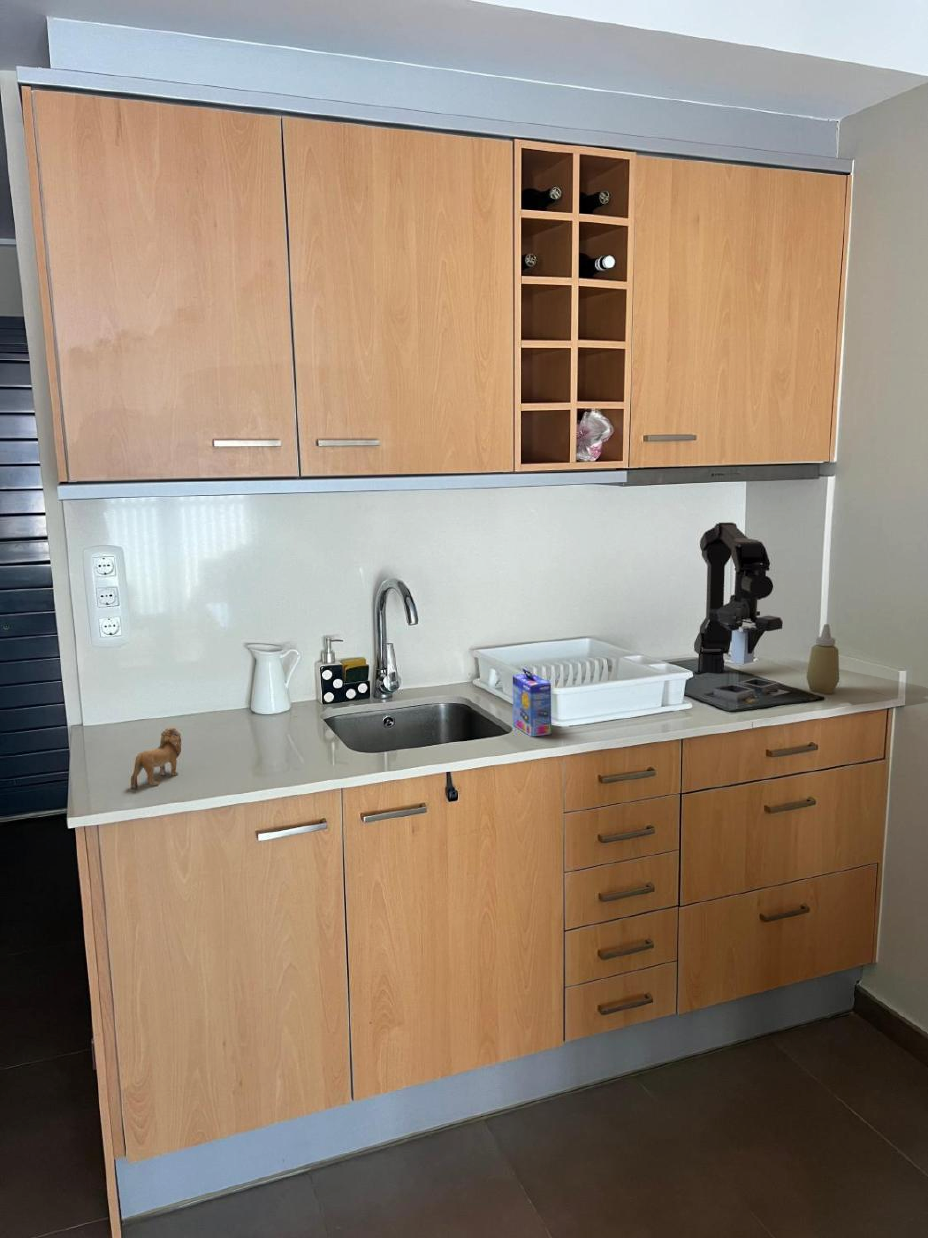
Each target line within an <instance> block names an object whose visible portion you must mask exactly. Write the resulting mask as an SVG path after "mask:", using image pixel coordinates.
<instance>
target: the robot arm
mask: <svg viewBox="0 0 928 1238" xmlns="http://www.w3.org/2000/svg"><path fill="white" fill-rule="evenodd" d="M699 548H700V551H701V558H703V561H704V562H705V564H706V567H707V568H706V569H707V570H706V572H707V573H706V604H705V605H706V606H705V607H706V608H705V619H703V621H702V623H701V624H700V626H699V632H698V634H697V636H696V638H695V640H694V642H693V649H694V650H693V651H694V652H695V653H696V654H698V664H697V670H694V672H693V673H694V674H697V675H703V674H716V675H719V674H724V672H725V659H724V654H726V655H729V652H730V650H731V644H732V631H733V630H738V629H739V627H743V626H744V625H743V624H744V623H746V624H751V625H750V627H749V628H746V630H747V632H748V654H751V653H752V652H753V650H754V651H755V649H756V647H757V644H758V642H759V641H760V639H761V637H762V636H763V635H764V633H765V632H773V631H776V630H777V631H778V630H782V629H783V623H784V622H783V620H782V618H781V617H779V616H774V615H769V614H768V615H764V616H761V611H759V610H758V604H759V603H758V602H759V601H760V600H761V599H765V598H767V597H768V596H770V595H771V593H772V592H773V589H774V583H773V580H772V579H771V578H770V577H769V576H768V575H767V572H768V571H770V565H771V562H770V558H769V555H768V552H767V550H766V547H765V546H764V544H763V542H762V541H760V540H758V539H754V538H753V539H752V538H749V537H747V535H745V534H744V533H743V532H742V531H741V530H740V529H739V528H738V526H737V524H736V523H734V522H733V521H732V522H730V521H729V522H718V523H715V525H714V527H712V528H710V529H708V530H707V531H705V532H704V533H703V535H702V536H701V538H700V541H699ZM730 559H731V560H732V563H733V566H734V571H735V574H734V591H733V592H734V594H731V595H730V597H729V602H728V603H725V572H726V571H725V570H726V565H727V564H728V562H729V560H730Z"/></svg>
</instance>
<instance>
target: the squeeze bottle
mask: <svg viewBox="0 0 928 1238" xmlns="http://www.w3.org/2000/svg"><path fill="white" fill-rule="evenodd" d="M831 634H832V633H831V628H830V624H827V623H826V624H824V625H823V628H822V631H821V634H820V636H816V638H815V644H814V645H812V646H811V649H810V656H809V660H808V667H807V671H806V680H807V683H808V684H807V685H808V687H809V691H810V692H813V693H817V694H822V695H831V694H834V693H835V690H836V688H837V686H838V683H839V681H840V660H839V659H840V657H839V649H838V647H837V646H835V645H836V639H835V638H834V637H832V636H831Z"/></svg>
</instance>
